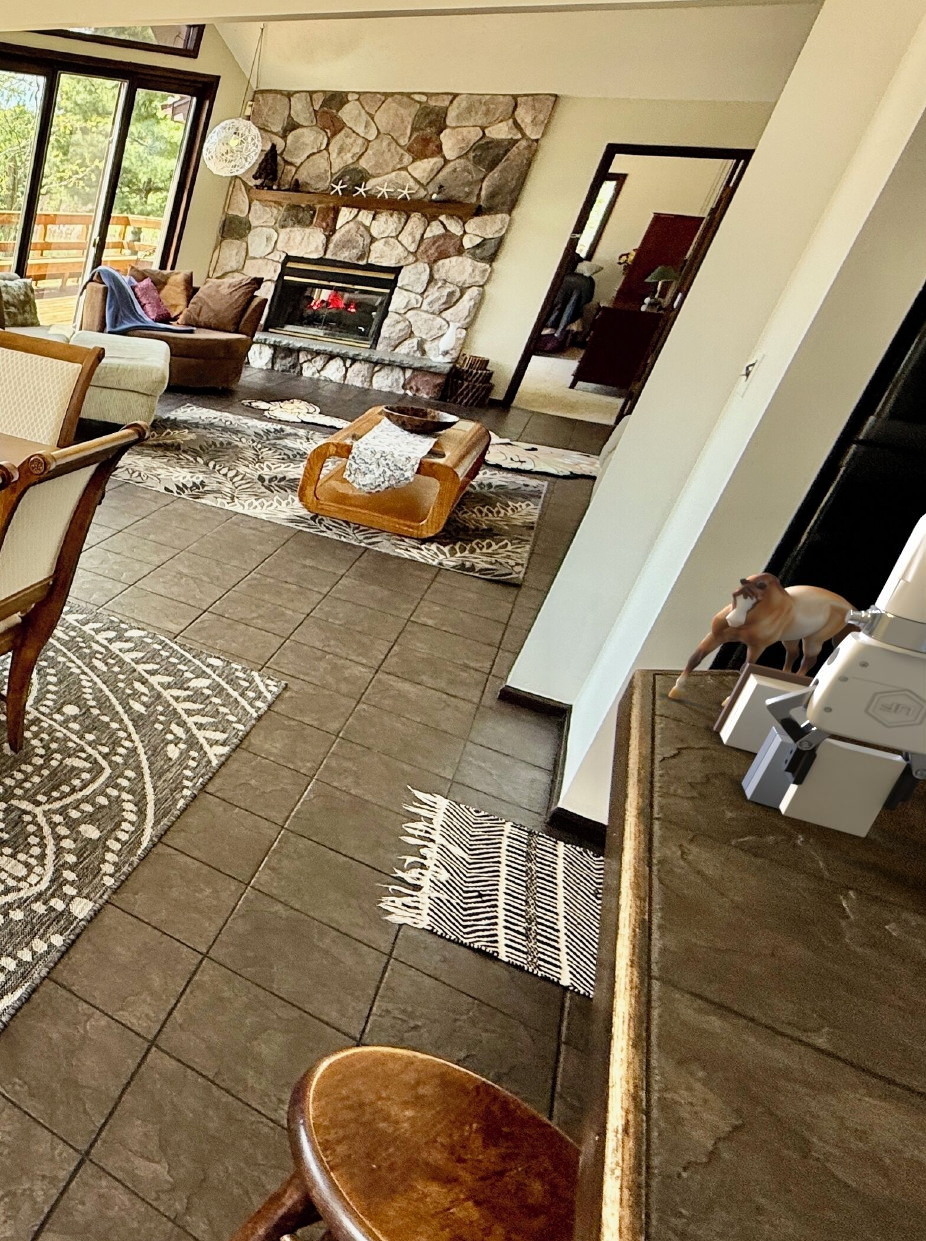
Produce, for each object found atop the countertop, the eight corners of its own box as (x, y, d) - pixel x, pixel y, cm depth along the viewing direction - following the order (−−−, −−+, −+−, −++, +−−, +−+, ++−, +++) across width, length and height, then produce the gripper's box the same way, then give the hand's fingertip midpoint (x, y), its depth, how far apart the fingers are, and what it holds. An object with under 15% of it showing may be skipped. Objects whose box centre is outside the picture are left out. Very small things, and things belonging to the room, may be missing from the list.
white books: (786, 748, 114) (824, 680, 110) (795, 764, 111) (835, 694, 107) (712, 728, 118) (747, 662, 114) (719, 743, 114) (755, 675, 111)
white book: (859, 829, 93) (900, 755, 90) (864, 838, 91) (907, 763, 88) (778, 806, 96) (816, 735, 93) (782, 815, 95) (820, 742, 92)
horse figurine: (690, 718, 120) (761, 579, 113) (631, 691, 127) (694, 558, 120) (863, 710, 126) (942, 577, 118) (797, 684, 133) (868, 557, 125)
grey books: (812, 804, 102) (847, 745, 99) (822, 821, 99) (859, 761, 96) (741, 783, 105) (772, 725, 102) (748, 800, 102) (781, 740, 99)
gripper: (805, 621, 88) (730, 775, 95) (1083, 674, 78) (978, 842, 85) (788, 601, 94) (718, 748, 100) (1046, 649, 84) (949, 808, 90)
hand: (838, 790), depth 92 cm, fingers closed on white book, 6 cm apart
